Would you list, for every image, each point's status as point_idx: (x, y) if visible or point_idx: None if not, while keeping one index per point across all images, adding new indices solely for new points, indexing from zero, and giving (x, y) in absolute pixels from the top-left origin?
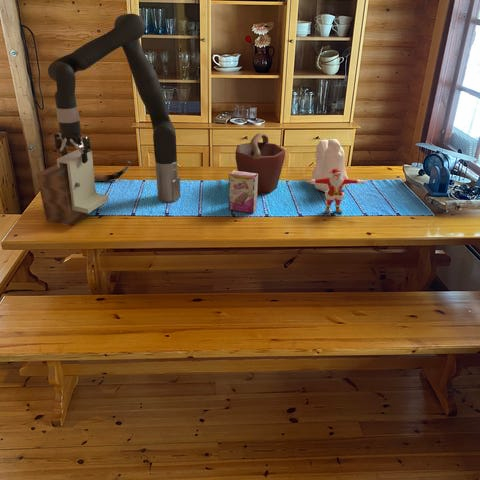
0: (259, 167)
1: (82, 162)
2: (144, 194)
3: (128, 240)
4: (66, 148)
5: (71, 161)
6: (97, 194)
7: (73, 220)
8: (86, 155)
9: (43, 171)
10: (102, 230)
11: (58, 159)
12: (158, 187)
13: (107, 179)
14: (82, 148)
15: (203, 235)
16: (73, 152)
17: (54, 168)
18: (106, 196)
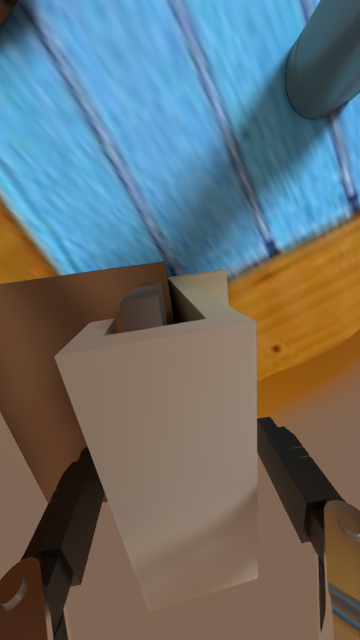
0: None
1: (260, 452)
2: (227, 85)
3: (319, 352)
4: (43, 584)
5: (254, 558)
6: (192, 283)
7: None
8: (324, 484)
9: (50, 486)
10: None
11: (164, 605)
12: (340, 71)
13: (5, 10)
14: (338, 594)
15: None
16: (125, 480)
17: (54, 440)
18: (225, 278)
